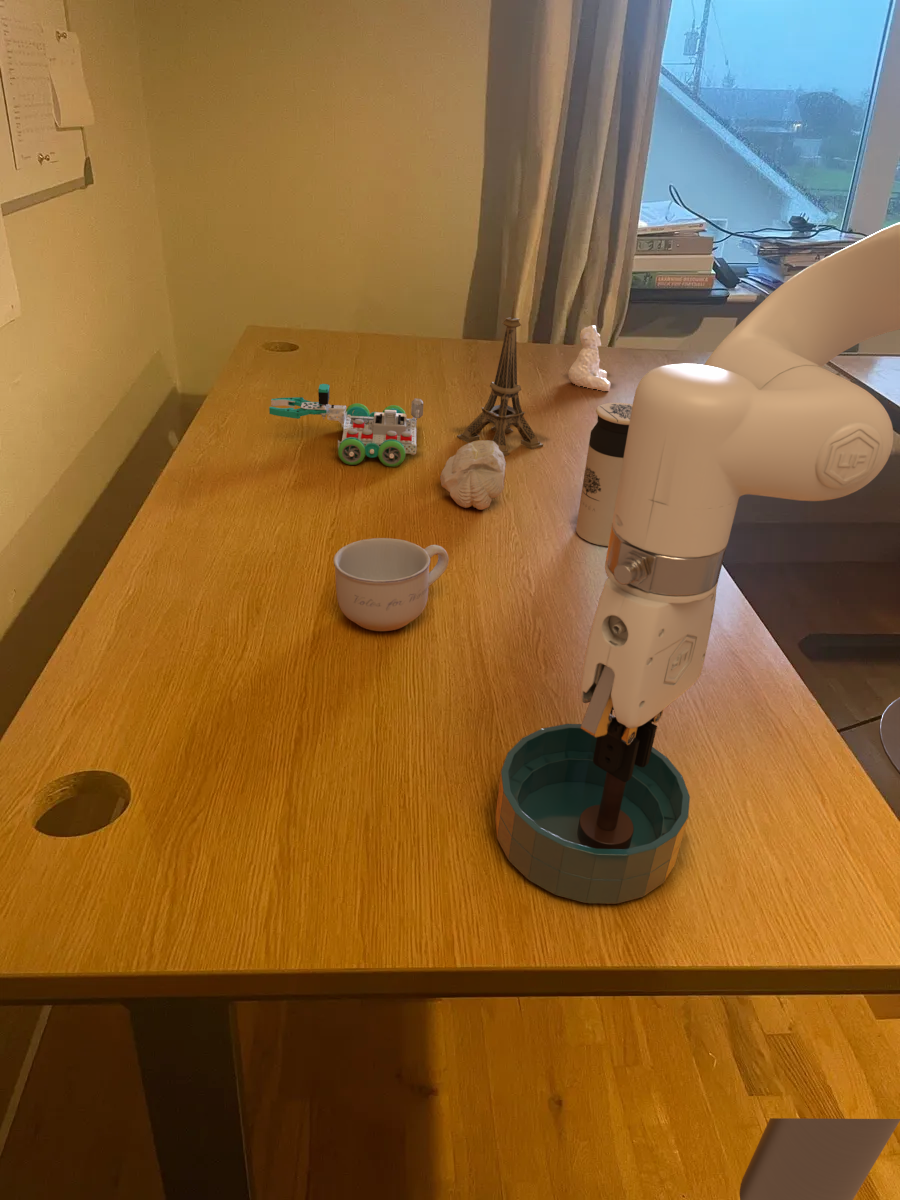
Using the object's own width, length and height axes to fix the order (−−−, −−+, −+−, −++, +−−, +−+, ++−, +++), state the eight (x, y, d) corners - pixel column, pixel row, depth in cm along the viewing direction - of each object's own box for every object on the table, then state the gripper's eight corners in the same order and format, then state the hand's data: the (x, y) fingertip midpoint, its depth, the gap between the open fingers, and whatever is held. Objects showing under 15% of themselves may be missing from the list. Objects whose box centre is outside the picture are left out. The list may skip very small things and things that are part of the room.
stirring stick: (624, 817, 75) (653, 690, 68) (635, 857, 71) (667, 727, 64) (573, 816, 75) (596, 688, 68) (581, 856, 71) (607, 725, 64)
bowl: (652, 776, 82) (664, 726, 79) (695, 910, 69) (712, 857, 66) (489, 772, 82) (495, 721, 78) (502, 907, 69) (510, 852, 65)
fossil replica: (458, 521, 126) (518, 516, 131) (469, 468, 121) (530, 465, 126) (422, 482, 134) (479, 479, 139) (431, 431, 130) (490, 429, 135)
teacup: (349, 649, 97) (349, 586, 93) (323, 599, 105) (322, 539, 101) (466, 629, 102) (472, 569, 98) (432, 583, 110) (436, 525, 106)
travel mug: (621, 521, 129) (643, 401, 120) (640, 547, 122) (664, 422, 113) (569, 522, 128) (587, 401, 118) (584, 548, 121) (605, 422, 112)
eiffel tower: (543, 446, 153) (562, 296, 140) (497, 457, 147) (512, 302, 134) (502, 426, 160) (517, 282, 147) (457, 437, 154) (468, 287, 141)
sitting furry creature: (610, 393, 180) (620, 333, 174) (568, 390, 180) (576, 330, 174) (605, 379, 188) (614, 321, 182) (564, 376, 188) (572, 318, 182)
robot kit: (277, 421, 154) (275, 368, 150) (421, 428, 156) (424, 376, 151) (262, 463, 139) (259, 405, 134) (422, 470, 140) (425, 413, 135)
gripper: (648, 621, 52) (602, 844, 62) (769, 540, 62) (713, 742, 72) (547, 573, 56) (518, 788, 66) (676, 505, 66) (634, 700, 76)
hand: (620, 763), depth 69 cm, fingers closed on stirring stick
